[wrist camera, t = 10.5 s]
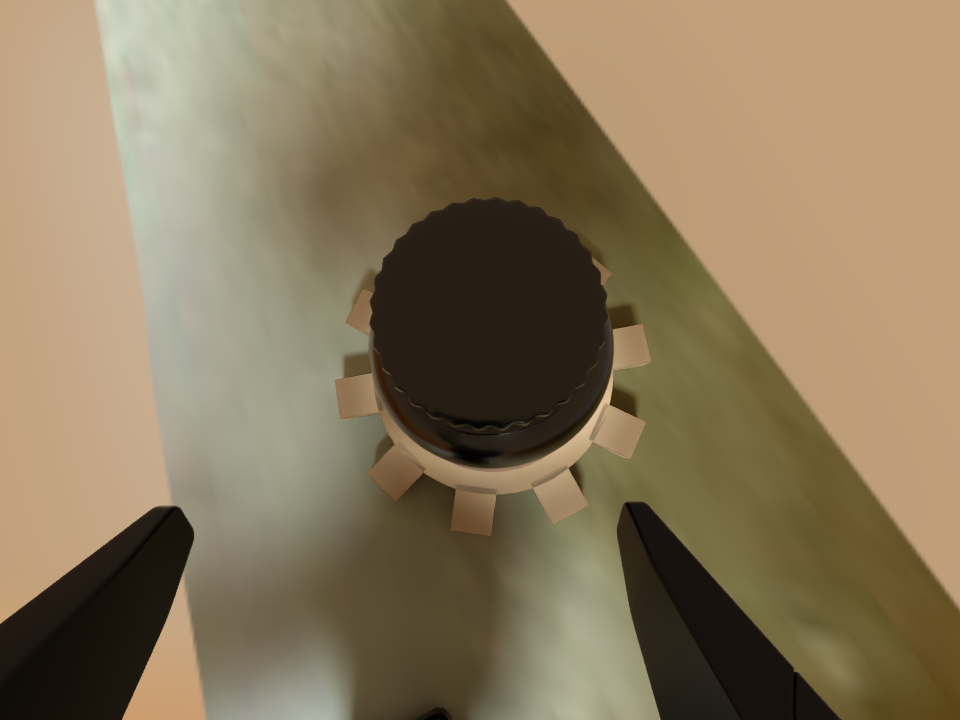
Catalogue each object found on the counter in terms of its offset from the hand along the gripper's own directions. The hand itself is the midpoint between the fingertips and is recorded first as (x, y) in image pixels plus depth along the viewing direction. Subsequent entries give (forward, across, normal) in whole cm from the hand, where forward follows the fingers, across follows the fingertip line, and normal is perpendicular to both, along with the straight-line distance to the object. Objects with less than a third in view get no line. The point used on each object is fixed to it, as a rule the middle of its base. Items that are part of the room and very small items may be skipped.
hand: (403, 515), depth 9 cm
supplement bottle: (+11, -2, +5) cm, 12 cm away
